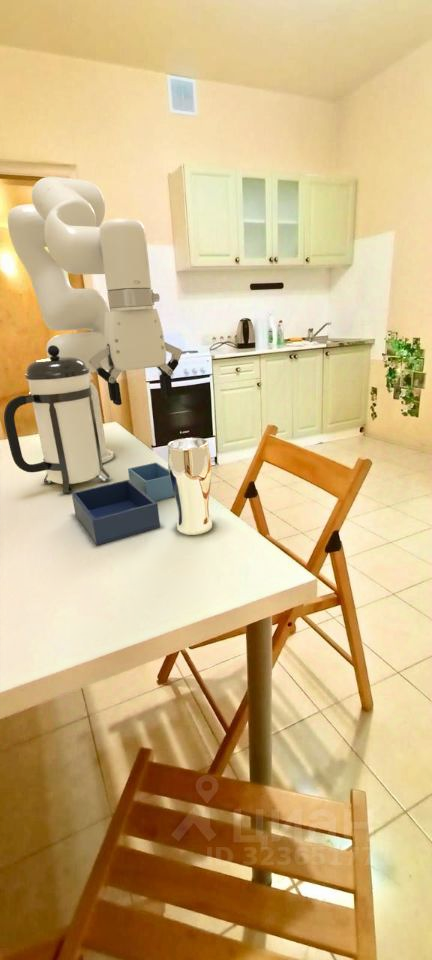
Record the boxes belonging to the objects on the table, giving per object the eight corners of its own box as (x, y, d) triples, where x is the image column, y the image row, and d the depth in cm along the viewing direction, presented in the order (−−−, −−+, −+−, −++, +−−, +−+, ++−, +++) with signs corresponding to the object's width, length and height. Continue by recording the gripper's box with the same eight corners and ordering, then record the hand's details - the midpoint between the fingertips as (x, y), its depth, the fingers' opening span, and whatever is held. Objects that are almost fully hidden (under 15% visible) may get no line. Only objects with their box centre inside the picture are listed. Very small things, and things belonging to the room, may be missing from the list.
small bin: (130, 488, 96) (127, 468, 95) (158, 481, 99) (156, 462, 98) (147, 503, 88) (145, 481, 87) (177, 495, 91) (175, 474, 89)
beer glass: (168, 524, 78) (159, 442, 73) (204, 515, 81) (198, 435, 76) (184, 540, 73) (176, 452, 67) (222, 529, 76) (217, 444, 70)
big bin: (75, 514, 85) (71, 492, 83) (131, 500, 90) (128, 479, 88) (96, 545, 73) (92, 520, 71) (160, 527, 78) (157, 503, 76)
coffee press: (56, 471, 110) (31, 344, 100) (119, 470, 108) (100, 340, 98) (19, 499, 94) (-15, 351, 83) (92, 498, 92) (66, 347, 81)
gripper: (167, 300, 84) (176, 391, 90) (75, 305, 77) (91, 404, 83) (185, 298, 78) (192, 396, 84) (86, 303, 70) (102, 410, 76)
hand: (142, 400), depth 83 cm, fingers open, 9 cm apart
